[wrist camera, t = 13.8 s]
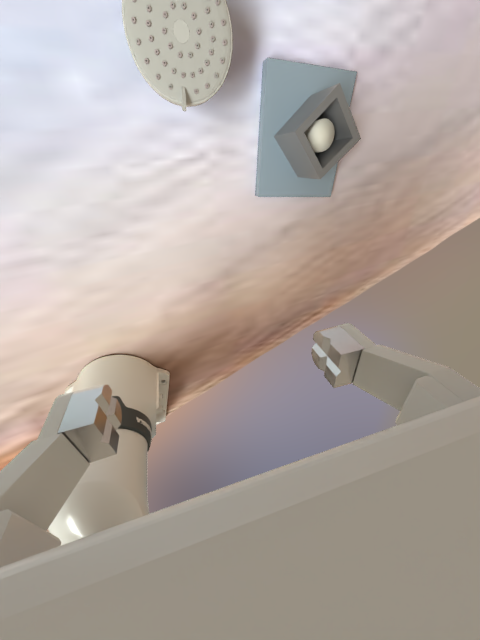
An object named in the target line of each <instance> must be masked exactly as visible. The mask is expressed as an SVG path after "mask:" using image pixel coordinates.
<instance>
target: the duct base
mask: <svg viewBox="0 0 480 640" xmlns="http://www.w3.org/2000/svg"><path fill="white" fill-rule="evenodd" d="M356 74H357V72H356V71H349V70H343V69H337V68H330V67H324V66H318V65H311V64H305V63H299V62H292V61H286V60H280V59H273V58H267V59H266V60H265V61H264V62H263V71H262V88H261V105H260V122H259V139H258V157H257V174H256V191H255V196H258V197H330V196H331V192H332V187H333V182H334V178H335V173H336V168H337V163H338V162H337V163H336V164H335V165H334V166H333V167H332V168H331V169H330V170H329V171H328V172H327V173H326V174H325V175H324V176H323V177H322V178H321V179H311V178H301V177H297V175H296V173H295V172H294V170H293V168H292V167H291V165H290V163H289V161H288V160H287V158H286V156H285V155H284V153H283V151H282V150H281V148H280V146H279V144H278V143H277V141H276V139H275V138H274V135H275V134H276V133H277V132H278V131H279V130H280V129H281V128H282V127H283V126H284V124H285V123H286V122H287V121H288V120H289V119H290V118H291V117H292V116H293V114H294V113H295V112H296V111H297V110H298V109H299V108H300V107H301V106H302V104H303V103H304V102H305V101H306V100H307V99H308V98H309V97H310V96H311V95H313V94H315V93H318V92H320V91H322V90H324V89H327V88H329V87H331V86H334V85H336V84H338V83H340V85H341V87H342V90H343V93H344V95H345V98H346V101H347V103H348V106H349V107H350V102H351V98H352V93H353V88H354V83H355V79H356ZM304 133H305V135H306V137H307V139H308V141H309V143H310V145H311V147H312V149H313V151H314V152H323V151H325V150H327V149H328V148H329V147H330V146H331V144H332V142H333V139H334V135H335V130H334V125H333V123H332V122H331V121H330V120H329V119H326V118H324V119H320V120H316V121H314V122H313V123H312V125H311V126H310V127H309V128H308V129H307V130H306V131H305V132H304Z"/></svg>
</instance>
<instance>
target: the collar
mask: <svg viewBox="0 0 480 640" xmlns="http://www.w3.org/2000/svg"><path fill="white" fill-rule="evenodd" d="M324 118H326V119H329V120H330V121H331V122H332V123H333V125H334V130H335V135H334V139H333V142H332V144H331V146H330V147H329V148H328V149H327V150H325V151H323V152H314V151H313V149H312V147H311V145H310V143H309V141H308V139H307V137H306V135H305V133H304V132H305V131H306V130H307V129H308V128H309V127H310V126H311V125H312V123H313V122H314V121H316V120H320V119H324ZM274 138H275V139H276V141H277V143H278V144H279V146H280V148H281V150H282V151H283V153H284V155H285V156H286V158H287V160H288V161H289V163H290V165H291V167H292V168H293V170H294V172H295V173H296V175H297V177H301V178H311V179H321V178H322V177H323V176H324V175H325V174H326V173H327V172H328V171H329V170H330V169H331V168H332V167H333V166H334V165H335V164H336V163H337V162H338V161H339V160H340V159H341V158H342V157H343V156H344V155H345V154H346V153H347V152H348V151H349V150H350V149H351V148H352V147H353V146H354V145H355V144H356V143H357V142H358V141H359V140H360V139H361V138H360V135H359V133H358V130H357V127H356V125H355V122H354V119H353V117H352V114H351V111H350V109H349V106H348V103H347V101H346V98H345V95H344V93H343V90H342V87H341V85H340V83H338V84H336V85H334V86H331V87H329V88H327V89H324V90H322V91H320V92H318V93H315V94H313V95H311V96H310V97H309V98H308V99H307V100H306V101H305V102H304V103H303V104H302V106H301V107H300V108H299V109H298V110H297V111H296V112H295V113H294V114H293V116H292V117H291V118H290V119H289V120H288V121H287V122H286V123H285V124H284V126H283V127H282V128H281V129H280V130H279V131H278V132H277V133H276V134H275V135H274Z"/></svg>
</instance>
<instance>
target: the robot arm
mask: <svg viewBox="0 0 480 640" xmlns="http://www.w3.org/2000/svg"><path fill="white" fill-rule="evenodd" d="M313 340H314V341H315V342H316V343H315V344H314V346H313V347H312V358H313V361H314V363H315V364H316V366H317V367H318V368H319V369H321V370H323V371H325V375H324V376H325V378H326V379H327V380H328V381H329V382H330V384H331V385H332V386H333V388H336V387H340V386H343V385H347V384H351V383H353V385H355V386H357V387H359V388H361V389H362V390H364V391H366V392H368V393H369V394H371V395H373V396H375V397H376V398H378V399H380V400H382V401H384V402H385V403H387V404H389V405H390V406H392V407H394V408H396V409H398V410H399V411H400V413H399V414H398V417H397V418H396V424H397V426H394V427H392V428H389V429H386V430H383V431H381V432H378V433H375V434H372V435H369V436H367V437H364V438H361V439H358V440H355V441H353V442H350V443H347V444H344V445H341V446H338V447H335V448H333V449H330V450H327V451H324V452H322V453H319V454H316V455H313V456H310V457H308V458H304V459H302V460H299V461H296V462H293V463H290V464H288V465H285V466H282V467H279V468H276V469H274V470H271V471H268V472H265V473H262V474H260V475H257V476H254V477H251V478H248V479H246V480H243V481H240V482H237V483H234V484H232V485H229V486H226V487H223V488H220V489H218V490H215V491H212V492H210V493H206V494H204V495H201V496H198V497H195V498H193V499H190V500H187V501H184V502H181V503H178V504H176V505H173V506H170V507H167V508H164V509H162V510H159V511H156V512H153V513H150V514H149V509H148V501H147V452H148V450H149V447H150V444H151V440H152V438H153V437H154V436H155V435H156V425H157V424H159V423H160V422H164V421H165V418H166V410H167V399H168V389H169V379H170V373H169V372H168V371H167V370H164V369H160V368H156V367H154V366H153V365H151V364H150V363H148V362H147V361H145V360H143V359H141V358H138V357H134V356H129V355H111V356H105V357H102V358H99V359H96V360H94V361H92V362H91V363H89V364H88V365H86V366H85V367H84V368H83V369H82V371H81V372H80V374H79V376H78V378H77V380H76V381H75V382H73V383H72V384H71V385H69V386H68V387H67V388H66V390H65V394H62V395H59V396H58V397H57V398H56V399H55V401H54V403H53V405H52V407H51V410H50V412H49V414H48V416H47V419H46V421H45V423H44V425H43V428H42V430H41V432H40V434H39V437H38V439H37V440H35V441H32V442H31V443H30V444H28V445H27V446H26V447H25V448H24V449H23V450H22V451H21V452H20V453H19V454H18V455H17V456H16V457H15V458H14V459H13V460H12V461H11V462H10V463H9V464H7V465H6V466H5V467H4V468H3V469H2V470H1V471H0V640H480V388H478V387H477V386H476V385H474V384H473V383H471V382H470V381H469V380H467V379H466V378H464V377H462V376H461V375H460V374H459V373H457V372H456V371H454V370H453V369H451V368H450V367H447V366H444V365H441V364H438V363H435V362H432V361H429V360H426V359H423V358H420V357H417V356H413V355H410V354H407V353H404V352H401V351H398V350H395V349H392V348H389V347H386V346H383V345H376V344H375V343H374V342H372V341H371V340H370V339H369V338H367V337H366V336H365V335H364V334H363V333H361V332H360V331H359V330H358V329H357V328H355V327H354V326H353V325H352V324H349V323H346V324H342V325H339V326H335V327H331V328H328V329H324V330H320V331H316V332H315V333H314V337H313ZM47 529H48V530H49V532H50V533H49V532H47Z"/></svg>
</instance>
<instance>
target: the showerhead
mask: <svg viewBox="0 0 480 640" xmlns="http://www.w3.org/2000/svg"><path fill="white" fill-rule="evenodd" d="M122 16H123V24H124V30H125V35H126V38H127V42H128V45H129V48H130V51H131V54H132V56H133V59H134V61H135V63H136V65H137V67H138V69H139V71H140V73H141V74H142V76H143V77H144V79H145V80H146V82H147V83H148V84H149V85H150V87H151V88H152V89H153V90H154V91H155V92H156V93H158V94H159V95H160V96H161V97H162V98H164V99H165V100H167V101H169V102H171V103H173V104H176V105H179V106H182V109H183V111H186V107H191V106H197V105H200V104H202V103H204V102H206V101H208V100H209V99H210V98H211V97H212V96H214V95H215V94H216V92H217V91H218V90H219V89H220V87H221V86H222V84H223V82H224V80H225V78H226V76H227V73H228V70H229V67H230V63H231V57H232V48H233V36H232V25H231V19H230V14H229V10H228V6H227V3H226V0H122Z"/></svg>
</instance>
